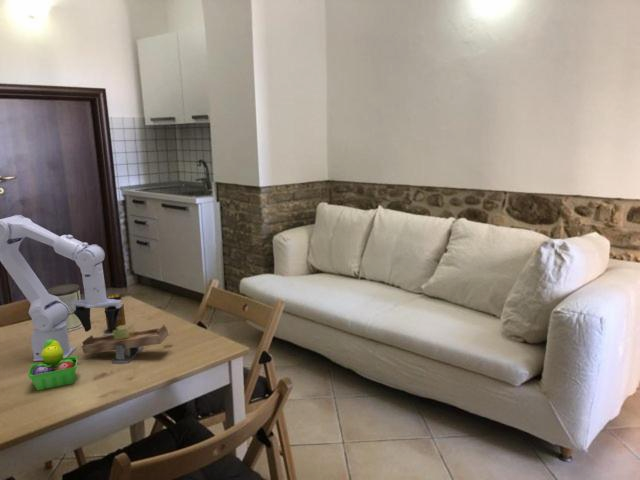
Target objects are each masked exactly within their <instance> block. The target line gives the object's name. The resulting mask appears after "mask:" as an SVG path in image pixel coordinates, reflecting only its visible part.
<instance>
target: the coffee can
mask: <svg viewBox="0 0 640 480" xmlns="http://www.w3.org/2000/svg"><path fill="white" fill-rule="evenodd" d="M46 290H47V292H48V293H49V294H51V295H54V296H57V297H58V298H59V299H60V301H62V302H63V303H65V304H66V305H67V306H68V308H69V310H70V315H69V317H68V318H67V319H66V320H67V323H66V325H67V332H71V331H74V330H77V329H81V328H82V327H83V325H82V323H81V321H80V320H79V318H78V317H77V316H76V315H75V314H74V311H75V310H76V308H75V309H72V303H71V302H73V301H75V300H82V298H81V292H80V285H79V284H76V283H67V284H58V285H55V286H52V287H50V288H48V289H46Z"/></svg>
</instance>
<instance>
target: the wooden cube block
mask: <svg viewBox="0 0 640 480" xmlns="http://www.w3.org/2000/svg"><path fill="white" fill-rule="evenodd" d="M126 324H127V325H120V326H118V327H117V328H115V329H114V330H113V334H112V335H114V338H115V341H116V340H123V339H130V338H134V337H135V336H136V333H135V332H136V330H135V327H134V323H126Z"/></svg>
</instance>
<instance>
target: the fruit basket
mask: <svg viewBox="0 0 640 480" xmlns="http://www.w3.org/2000/svg"><path fill="white" fill-rule="evenodd" d="M41 356H42V358H43V361H42V362H41V361H40V362H37V363H34V364H31V366H30V369H29V372H28V375H27V376H28V377H29V379H31V382H32V383H33V385H34V387H35V389H36V390H37V391H40V390H41V391H42V390H45V389H51V388H55V387H60V386H65V385H70V384H74V383H75V379H76V370H77V365H78V356H75V355H74V356H68V357H67V358H63V350H62V348H61V347H60V343H59V342H57V341H55V340H54V339H51V340H47V341H46V342H45V345H44V349H43V351H42V353H41Z"/></svg>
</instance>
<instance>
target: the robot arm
mask: <svg viewBox="0 0 640 480" xmlns="http://www.w3.org/2000/svg"><path fill="white" fill-rule="evenodd" d="M25 238H29V239H31V240H35V241H37V242H39V243H42V244H46V245H47V246H49V247H50V246H51V247H53V251H54V252H55V253H56V254H59V255H60V256H63V257H65V258H66V259H67V258H68V259H70V260H72V261H74V262H75V264H76V266H78V267H79V269H80V273H81V276H82V285H83V291H84V299H81V300H75V301H73V302H71V303H72V309H75V308H76V310H75V311H74V314H75V315H76V316H77V317H78V318H79V320H80V321H81V323H82V325H83V326H82V327H83V329H84V331H85V333H87V332H89V331H90V330H91V329H92V322H91V309H93V308H94V309H97V308H100V309H101V308H104V309H105V308H108V309H107V310H106V311H105V310H104V314H105V317H106V316H107V319H108V324H109V330H110V332H112V331H113V330H114V329H115V326H116V320H117V316H118V313H119V311H120V308H121V307H122V302H123V299H122V300H114V299H107V297H106V296H107V292H106V290H107V289H106V283H105V282H106V281H105V275H104V268H103V267H104V266H103V261H104V260H105V256H106V254H105V251H104V249H103V248H102V247H101V246H99V245H98V244H91V245H90V244H89V243H88V242H83V241H80V240H78V239H76V238H74V236H73V235H72V234H63V235H61V236H60V235H58V234H56V233H55V232H54V233H53V232H51V231H50V230H48V229H46V228H44V227H43V226H41V225H39V224H37V223H35V222H33V221H32V220H31V218H29V217H25V216H23V215H21V214H15V215H12V216H8V217H5V218H4V217H3V218H0V263H1V264H2V266H3V267H4V268H5V270H6V271H7V273H8V274H9V275H10V277H11V278H12V280H13V281H14V282H15V284H16V285H17V286H18V288H19V289H20V291H21V292H22V294H23V295H24V296H25V298H26V299H27V301H28V302H29V304H30V306H29V309H28V315H29V317H30V318H31V321H32V325H33V327H34V329H33V330H32V332H31V335H30V336H31V337H30V342H31V348H32V354H33V355H32V357H33V359H32V361H33V362H39V361H40V362H41V361H42V362H44V361H43V358H42V356H41V353H42V351H43V349H44V345H45V342H46V341H47V340H51V339H54V340H55V341H57V342H59V343H60V347H61V348H62V350H63V358H67V357H70V355H71V354H72V353H73V352H74V350H75V349H76V346H71V345H70V342H69V341H70V340H69V333H68V332H69V331H67V325H66V323H67V320H66V319H67V318H68V317H69V315H70V310H69V308H68V306H67V305H66V304H65V303H63V302H62V301H60V299H59V298H58V297H57V296H54V295H51V294H49V293H48V292H47V290H48V289H46V287H45V286H44V285H43V282H41V280H40V278H39V277H38V276H37V275H36V273H35V272H34V270H33V269H32V268H31V266H30V265H29V263H28V262H27V260H26V259H25V257H24V256H23V255H22V253H21V251H19V248H20V246H21V245H20V244H21V243H22V242H23V240H24V239H25Z"/></svg>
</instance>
